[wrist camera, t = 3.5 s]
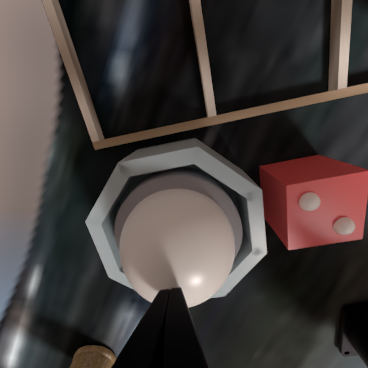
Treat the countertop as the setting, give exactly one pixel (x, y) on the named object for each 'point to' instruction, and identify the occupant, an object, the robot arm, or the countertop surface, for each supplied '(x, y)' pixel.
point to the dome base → (246, 201)
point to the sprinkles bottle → (93, 357)
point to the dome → (178, 234)
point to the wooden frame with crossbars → (208, 76)
